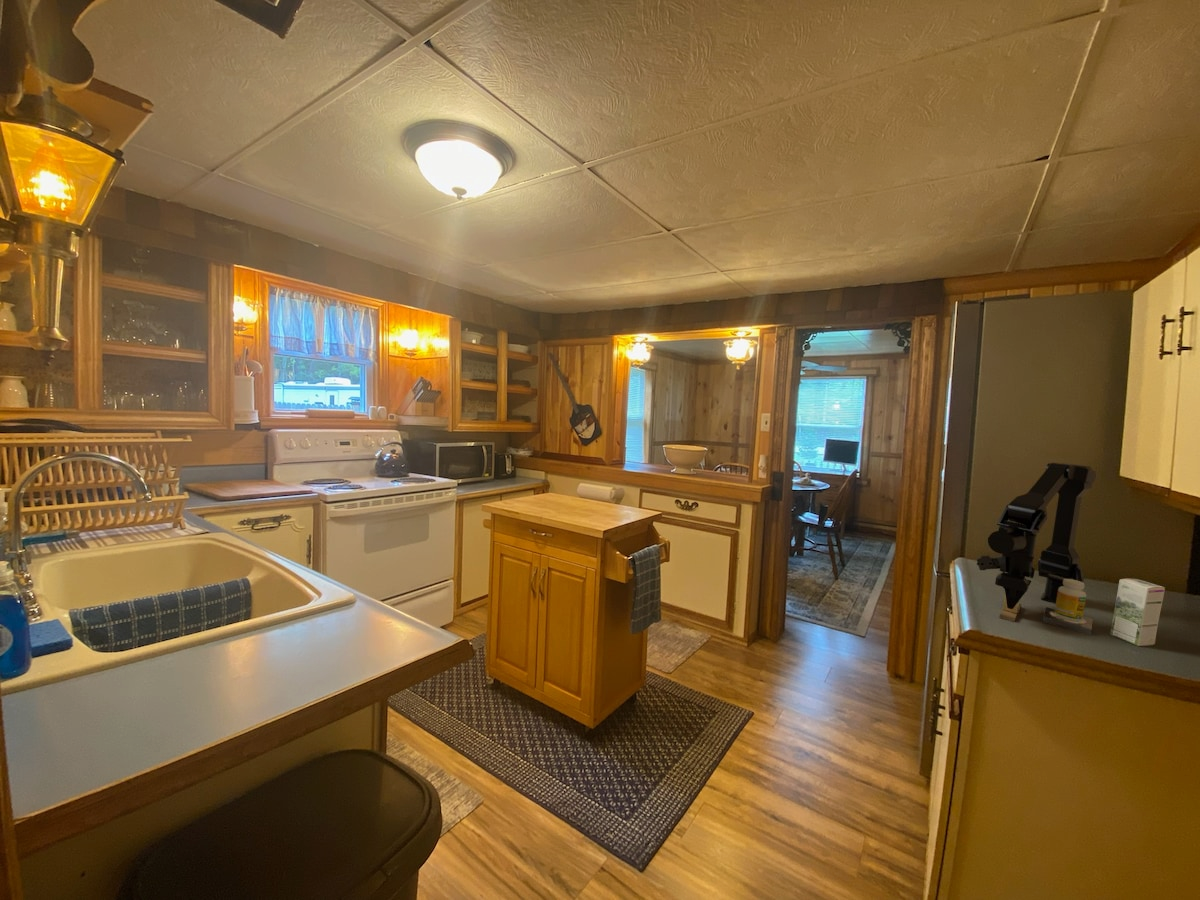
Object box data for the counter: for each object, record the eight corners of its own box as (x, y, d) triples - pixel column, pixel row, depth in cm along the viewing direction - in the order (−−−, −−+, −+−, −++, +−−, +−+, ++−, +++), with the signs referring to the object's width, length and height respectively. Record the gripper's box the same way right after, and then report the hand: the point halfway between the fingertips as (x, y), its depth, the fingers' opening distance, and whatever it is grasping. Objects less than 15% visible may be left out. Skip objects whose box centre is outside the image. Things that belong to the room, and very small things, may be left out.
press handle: (1004, 606, 136) (1006, 588, 136) (1018, 610, 134) (1021, 592, 133) (1002, 609, 134) (1005, 591, 133) (1016, 613, 132) (1019, 594, 131)
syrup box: (1155, 645, 120) (1167, 586, 119) (1137, 646, 119) (1148, 587, 117) (1126, 633, 126) (1136, 577, 124) (1108, 634, 125) (1118, 578, 123)
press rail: (1007, 603, 141) (1007, 600, 141) (1020, 607, 139) (1021, 604, 139) (999, 617, 131) (1000, 614, 131) (1014, 621, 129) (1014, 618, 129)
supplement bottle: (1057, 611, 134) (1063, 576, 133) (1085, 619, 129) (1091, 583, 128) (1050, 615, 131) (1056, 579, 130) (1078, 623, 126) (1084, 586, 125)
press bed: (1045, 612, 137) (1046, 606, 136) (1091, 624, 130) (1092, 618, 130) (1042, 621, 130) (1043, 615, 130) (1090, 634, 124) (1091, 628, 124)
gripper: (987, 536, 144) (979, 588, 146) (975, 548, 131) (967, 605, 133) (1038, 546, 136) (1029, 601, 138) (1031, 560, 123) (1021, 620, 125)
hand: (1010, 606), depth 134 cm, fingers closed on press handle, 3 cm apart
